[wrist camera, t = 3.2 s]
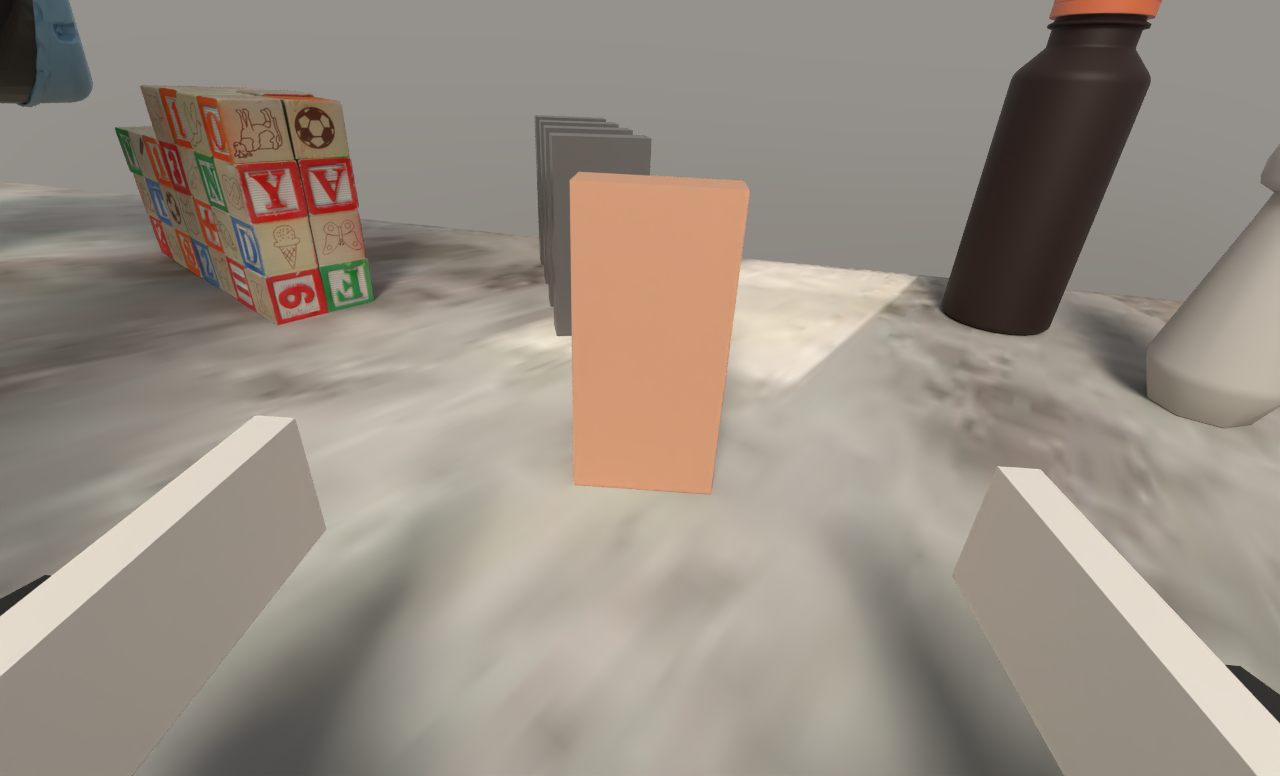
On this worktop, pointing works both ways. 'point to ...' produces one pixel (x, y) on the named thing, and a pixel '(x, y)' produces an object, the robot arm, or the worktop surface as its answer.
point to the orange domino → (651, 325)
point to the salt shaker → (1227, 330)
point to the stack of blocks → (253, 195)
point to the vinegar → (1050, 166)
